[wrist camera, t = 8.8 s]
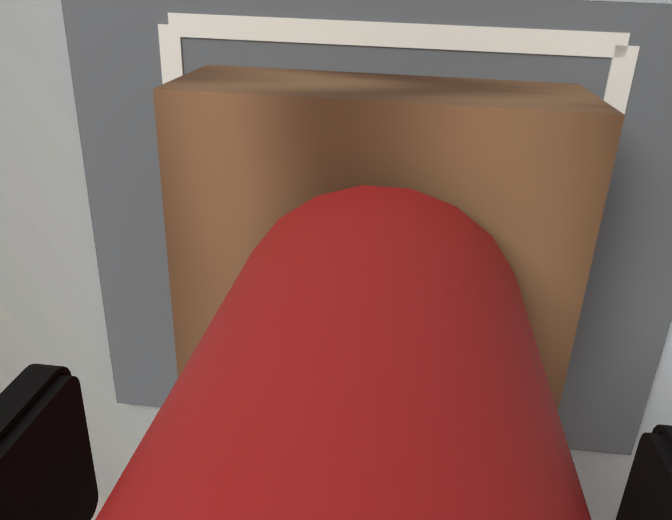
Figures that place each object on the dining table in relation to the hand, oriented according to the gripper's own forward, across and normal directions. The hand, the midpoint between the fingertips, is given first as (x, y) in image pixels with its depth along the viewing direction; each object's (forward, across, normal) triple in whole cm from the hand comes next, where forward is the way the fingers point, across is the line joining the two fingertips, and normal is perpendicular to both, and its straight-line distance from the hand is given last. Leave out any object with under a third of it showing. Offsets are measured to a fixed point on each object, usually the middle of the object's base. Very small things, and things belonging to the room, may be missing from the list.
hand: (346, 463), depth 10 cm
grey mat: (+10, 0, 0) cm, 10 cm away
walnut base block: (+9, 0, 0) cm, 9 cm away
